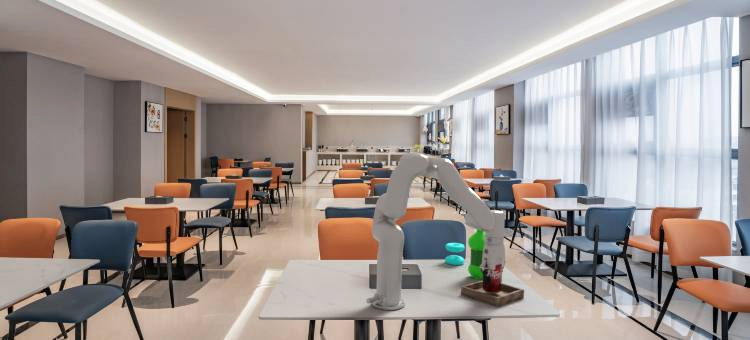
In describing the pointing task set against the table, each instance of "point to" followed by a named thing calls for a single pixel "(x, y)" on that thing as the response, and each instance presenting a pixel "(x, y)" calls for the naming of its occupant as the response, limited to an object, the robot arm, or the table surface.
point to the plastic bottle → (476, 253)
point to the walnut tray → (492, 294)
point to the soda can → (494, 280)
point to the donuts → (454, 258)
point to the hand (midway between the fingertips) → (492, 282)
